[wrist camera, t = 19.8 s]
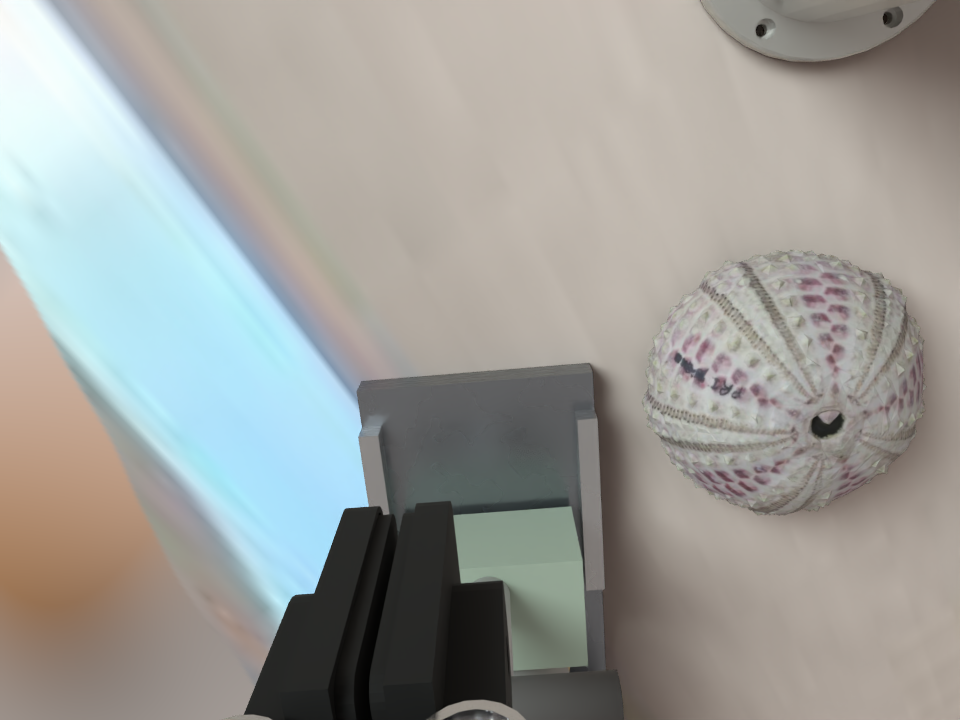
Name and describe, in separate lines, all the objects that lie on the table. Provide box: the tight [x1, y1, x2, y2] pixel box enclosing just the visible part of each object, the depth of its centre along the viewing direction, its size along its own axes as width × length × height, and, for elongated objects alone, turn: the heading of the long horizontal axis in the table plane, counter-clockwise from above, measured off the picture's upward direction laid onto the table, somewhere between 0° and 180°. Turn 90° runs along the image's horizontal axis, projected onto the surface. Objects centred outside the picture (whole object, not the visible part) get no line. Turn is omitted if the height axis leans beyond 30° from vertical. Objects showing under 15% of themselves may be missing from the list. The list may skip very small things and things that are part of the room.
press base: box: [357, 363, 606, 673], centre depth 39 cm, size 12×26×10 cm, turn 5°
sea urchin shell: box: [642, 250, 926, 515], centre depth 36 cm, size 13×14×8 cm
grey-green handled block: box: [453, 507, 624, 720], centre depth 35 cm, size 10×6×13 cm, turn 95°
